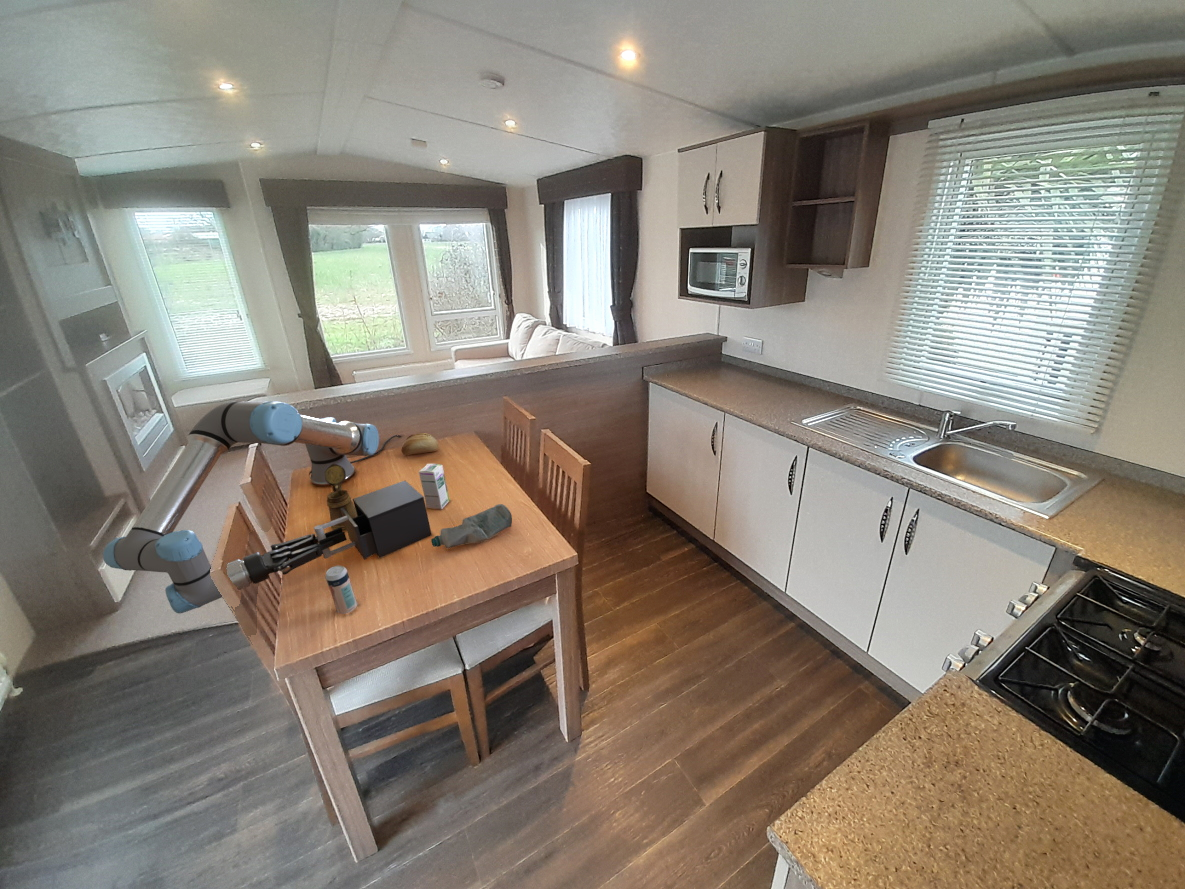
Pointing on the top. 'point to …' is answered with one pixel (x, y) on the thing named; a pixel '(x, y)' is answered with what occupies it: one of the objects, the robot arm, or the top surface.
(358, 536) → the dark grey drawer
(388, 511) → the drawer cabinet
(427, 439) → the bread roll
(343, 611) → the beer can
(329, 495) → the wooden mug
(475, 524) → the crushed plastic bottle
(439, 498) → the syrup box
